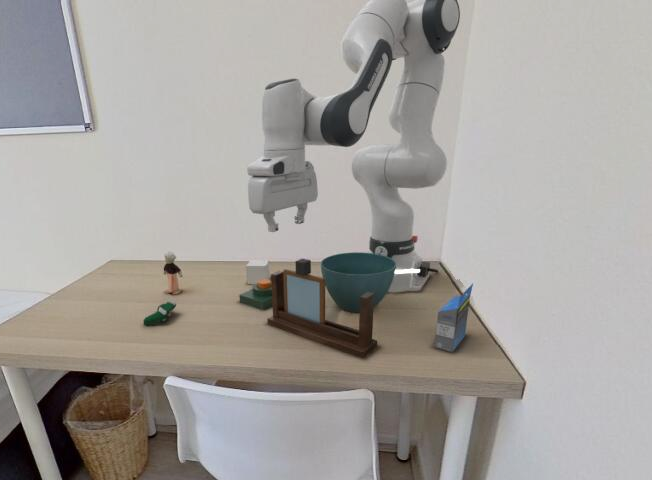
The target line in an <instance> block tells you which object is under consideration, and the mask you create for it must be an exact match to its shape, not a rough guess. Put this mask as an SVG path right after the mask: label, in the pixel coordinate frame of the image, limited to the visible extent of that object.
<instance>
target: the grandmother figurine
mask: <svg viewBox="0 0 652 480" xmlns="http://www.w3.org/2000/svg"><path fill="white" fill-rule="evenodd" d="M163 255H164V260H165V261H164V262H165V265H164V266H163V272H162V273H163V275H165V276H166V275H167V282H168V283H167V284H168V289H166V291H165V294H172V295H178V294H180V293H181V292H182V291H181V290H180V287H179V279H178V276H179V278H183V273H182V269H181V268H180V267H179V266H178V265H177V264H176V263H174V262H175V260H176V259H177V256H176V254H175V253H174V252H172V251H165V252H164V254H163ZM177 274H178V275H177Z"/></svg>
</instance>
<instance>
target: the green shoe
mask: <svg viewBox="0 0 652 480" xmlns="http://www.w3.org/2000/svg"><path fill="white" fill-rule="evenodd" d="M176 306H177V303H176V301H174V300H173V299H171V298H169V299H168V300H167V302H164V303H161V304H159V305H158V307H157V311H155V312H154V313H152V314H150V315H148V316H146V317H145V318H144V319H143V325H144V326H149V325H150V326H151V325H154V324H157V323H159V322H165V321H166V319H167V318H166V317H170V316H171V315H172V313H171V312H173V310H174V309H175V308H176Z"/></svg>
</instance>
